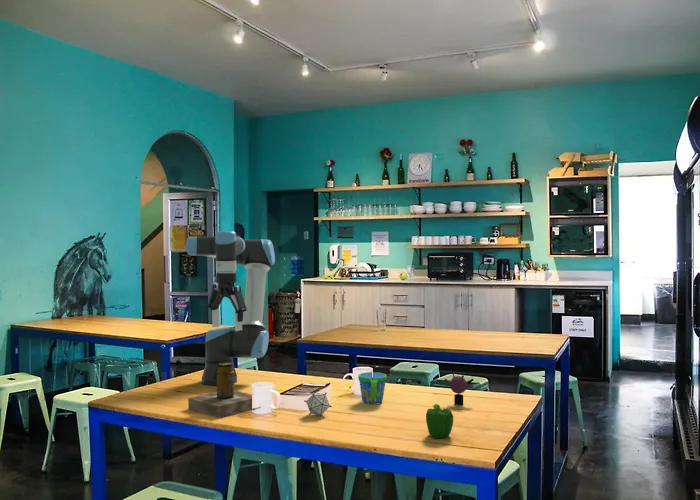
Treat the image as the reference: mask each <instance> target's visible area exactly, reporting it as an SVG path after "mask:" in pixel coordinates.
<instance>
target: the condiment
mask: <svg viewBox="0 0 700 500" xmlns="http://www.w3.org/2000/svg"><path fill="white" fill-rule="evenodd" d="M233 365H234V363H233V364H232V363H220V364H218V372H217V385H216V392H217V396H212V397H214V398H216V399H219V400H222V401H224V400H225V401H226V400H232V399H233V400H234V399H238V398H240V397H238V396H234V390H235V383H234V371H233Z"/></svg>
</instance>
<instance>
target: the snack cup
mask: <svg viewBox="0 0 700 500" xmlns="http://www.w3.org/2000/svg"><path fill="white" fill-rule="evenodd" d="M357 379H358V381H359V386H360V394H361V401H362V402H363V403H364V404H367V403H369V404H368V405H376V404H377V403H379V404H382V403H383V401H384V394H385V389H386V388H385V387H386V381H387V374H386V373H382V372H377V371H375V372H373V377H372V372H371V371H369V372H368V371H367V372H362V373H359V374H358V378H357ZM381 402H382V403H381ZM377 405H378V404H377Z"/></svg>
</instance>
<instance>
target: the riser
mask: <svg viewBox="0 0 700 500" xmlns="http://www.w3.org/2000/svg"><path fill="white" fill-rule="evenodd" d="M252 395H253V394H251V393H246V392H242V391H238V390H235V389H234V396H238V397H240V398H238V399H234V400H233V399H232V400H226V401H225V400H224V401H222V400H219V399H216V398H214V397H212V396H217V391H215V392H210V393H205V394H200V395H196V396H192V397H191V396H190V397H188V398H187V399H188V404H187V405H188V410H189V411H193V412H197V413H200V414H204V415H206V416H210V417H214V418H217V419H221V418H226V417H229V416H233V415H237V414H241V413H245V412H248V411H249V412H250V411H252V410H251V409H252Z"/></svg>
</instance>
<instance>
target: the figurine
mask: <svg viewBox="0 0 700 500" xmlns="http://www.w3.org/2000/svg"><path fill="white" fill-rule="evenodd" d="M460 374H461V375H457V376H456V375H455V373H454V371H452V372H451V375H452V378H451V380H450V379H447V378H444V379H443V380H444V382H445V383H448V384H449V387H450V390H451V391H452V392H453V393H455V394H454V399H453V401H454V402H453V404H454V405H455V406H464V395H463V393H464V392H466V390H467V389H468V387H469V388H471V389H472V388H473V386H474V385H472V382H473V381H474V379H473V378H471V379H469V380H466V378H465V377H464V374H465V373H464V371H461V372H460Z"/></svg>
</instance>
